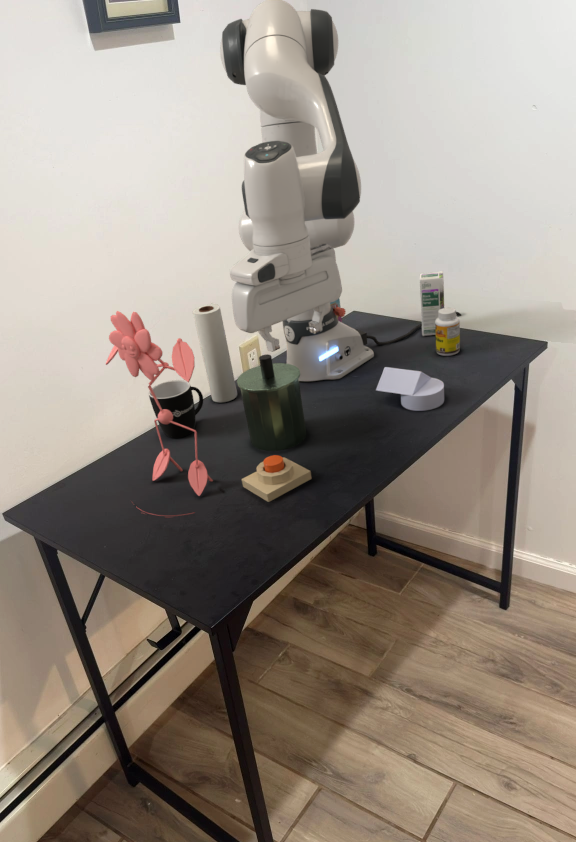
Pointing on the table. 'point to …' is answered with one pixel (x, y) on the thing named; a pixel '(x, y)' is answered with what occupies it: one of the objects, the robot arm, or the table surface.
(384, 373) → the wedge on round base
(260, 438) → the dark green cylinder
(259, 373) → the kettle lid
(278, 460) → the power button
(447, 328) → the supplement bottle
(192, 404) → the mug
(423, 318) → the syrup box
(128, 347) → the figurine
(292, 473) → the switch base
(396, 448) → the table surface
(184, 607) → the table surface
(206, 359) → the paper towel roll
